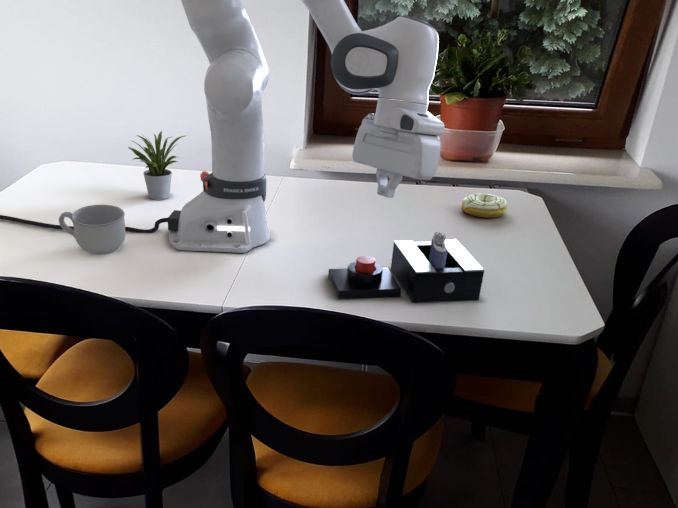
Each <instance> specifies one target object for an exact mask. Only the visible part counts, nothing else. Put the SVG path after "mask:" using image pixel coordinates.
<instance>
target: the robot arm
mask: <svg viewBox="0 0 678 508" xmlns="http://www.w3.org/2000/svg"><path fill="white" fill-rule="evenodd" d="M300 1H301V2H302V3H303V4H304V6H305V8H306V9H307V10H308V12H309V14H310V15H311V17H312V19H313V20H314V22H315V25H316V26H317V28H318V30H319V31H320V33H321V35H322V37H323V38H324V40H325V42H326V44H327V46H328V48H329V51H330V55H331V57H330V68H331V72H332V74H333V77H334V79H335V80H336V82H337V84H338V85H339V87H340V88H341V89H342V90H344V91H345V92H347V93H348V94H352V95H356V96H362V95H366V94H369V93H372V92H373V91H375V90H376V91H377V92H378V98H377V103H376V109H375V113H371V112H370V113H367V115H366V116H364V118H363V119H362V120H361V125H360V126H359V128H358V130H357V133H356V137H355V141H354V144H353V149H352V152H351V157H352V161H353V162H354V163H357V164H360V165H364V166H367V167H370V168H375V169H376V170H375V171H376V172H375V177H376V181H377V191H376V194H377V195H378V196H382V197H385V198H387V199H388V198H389V199H393V198H394V197H395V193H396V189H397V187H398V186H399V185H400V183H401V182H402V180H403V176H404V177H407V178H411V179H415V180H420V181H430V180H431V179H433V178H434V177H435V175H436V173H437V169H438V165H439V160H440V155H441V149H442V148H441V147H442V145H441V144H442V143H441V139H440V138H439V137H441V136H443V135H444V132H445V126H446V125H445V124H444V122H443V121H441V120H440V119H438V118H437V117H436V116H434V114H432V113H431V112H429V111H428V107H429V91H430V88H431V85H432V83H433V80H434V78H435V72H436V67H437V61H438V55H439V43H440V41H439V40H440V38H439V33H438V32H437V30H436V28H435V27H434V26H433V25H432V24H430V23H428V22H427V21H424V20H422V19H419V18H416V17H412V16H408V15H402V16H401V15H400V16H398V17H396V18H395V19H394V20H391V21H389V22H387V23H386V24H383V25H380V26H378V27H377V26H376V27H374V28H371V29H366V30H362V29H361V27H360V26H359V25H358V23H357V22H356V19H355V18H354V17H353V15H352V13H351V11H350V9H349V7H348V5H347V3H346V2H345V0H300ZM180 2H181V5H182V8H183V10H184V13H185V16H186V19H187V22H188V24H189V27H190V29H191V31H192V32H193V34H194V35H195V37H196V38H197V40H198V42H199V44H200V46H201V48H202V50H203V52H204V54H205V56H206V58H207V61H208V63H209V66H208V67H207V69H206V72H205V75H204V81H203V89H204V91H203V92H204V95H205V101H206V111H207V118H208V123H209V124H208V125H209V130H210V139H211V172H210V173H209V172H208V171H206V170H204V171H201V173H200V174H199V176H200V181H201V182H202V191H201V192H200V193H199V194H196V195H195V196H194V198H192V199H191V200H189V201H188V202H186V203H185V204H184V205H183V206H182V208H181V210H179V209H178V210H177V209H174V210H173V211H172V212H171V214H169V216H167V217H162V218H159V219H157V220H156V221H155V222H154V226H153V227H151V228H149V229H142V228H137V227H136V228H135V227H131V226H125V232H130V233H138V234H152V233H155V232H157V231H158V230H159V228H160V225H161V224H163V223H167V230H168V231H169V233H168V241H169V244H170V246H171V247H173V248H174V249H175V250H178V251H190V252H191V251H193V252H213V253H214V252H215V253H233V254H234V253H236V254H245V253H247V252H249V251H251V250H252V249H253V248H257V247H260V246H263V245H265V244H266V243H268V242H269V241H270V239H271V232H270V229H269V225H268V220H267V213H266V212H267V211H266V203H265V202H266V199H267V176H266V173H265V139H266V138H265V131H264V122H263V121H264V120H263V93H264V90H265V89H266V87H267V85H268V82H269V76H270V71H269V66H268V63H267V59H266V57H265V55H264V51H263V49H262V47H261V44H260V42H259V39H258V35H257V34H256V32H255V29H254V27H253V24H252V22H251V20H250V17H249V14H248V13H247V10H246V8H245V5H244V2H243V0H180ZM388 179H389V180H388ZM0 220H3V221H10V222H14V223H19V224H24V225H29V226H35V227H40V228H45V229H52V230H60V231H65V230H64V229H62V227H61V226H60V224H52V223H47V222H40V221H35V220H30V219H25V218H20V217H15V216H10V215H3V214H0ZM68 226H69V227H70V228H71V229H73V230H74V227H73V226H72V225H68Z"/></svg>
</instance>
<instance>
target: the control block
mask: <svg viewBox="0 0 678 508" xmlns="http://www.w3.org/2000/svg"><path fill="white" fill-rule="evenodd" d="M327 277H328V280H329V282H330V285H331V286H332V288H333V289H332V290H333V292H334V293H335V295H336V297H337V299H338V300H363V299H386V298H387V299H389V298H391V299H392V298H401V297H402V296H401V295H402V286H401V285H400V283H399V282H398V280H397V279H396V277H395V276H394V274H393V272H392V271H391V269H389V267H388V266H381V265H380V264H378V263H376V262H375V270H374V272H371V273H364V272H359V271H357V270H356V261H354V262H350V263H349V265H347V267H346V268H328V274H327Z"/></svg>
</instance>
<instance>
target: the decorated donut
mask: <svg viewBox="0 0 678 508" xmlns="http://www.w3.org/2000/svg"><path fill="white" fill-rule="evenodd" d="M461 202H462V203H461V210H462V211H463V212H465V213H466V214H469V215H471V216H476V217H477V218H481V217H482V218H487V219H488V218H491V219H492V218H493V219H494V218H498V217H501V216H502V215H504V214H505V213H506V211H507V208H508V202H507V200H506V198H503V197H502V196H500V195H497V194H493V193H473V194H470V195H466V196H465V197H464V198H462V201H461Z"/></svg>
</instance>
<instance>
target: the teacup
mask: <svg viewBox="0 0 678 508" xmlns="http://www.w3.org/2000/svg"><path fill="white" fill-rule="evenodd" d="M125 215H126V213H125V211H124V210H123V209H122V208H120V207H119V206H116V205H111V204H91V205H86V206H83V207H80V208H78V209H76V210H75V211H73V212H70V211H64V212H62V213H61V214H60V215H59V217H58V223H59V224H58V225H60V226H61V227H62V229H64V230H63V231H65V232H66V233H68V234H69V235H71V236H73V238H74V239H75V242H76V243H77V245H78V246H79V247H80V248H81V249H82V250H85V251H86V252H87V253H90V254H92V255H106V254H110V253H113V252H115V251H116V250H117V249H119V248H120V247H121V246H122V245H123V244H124V242H125V239H126V231H125V227H126V223H125V222H126V220H125ZM65 218H67V219H70V221H71V223H72V225H73V227H74V230H73V229H71V228H70V227H69V226H70V225H68V224H67V223H66V222H65Z"/></svg>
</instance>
